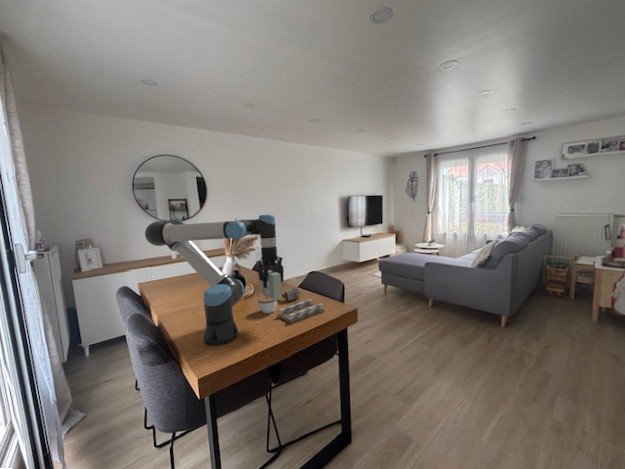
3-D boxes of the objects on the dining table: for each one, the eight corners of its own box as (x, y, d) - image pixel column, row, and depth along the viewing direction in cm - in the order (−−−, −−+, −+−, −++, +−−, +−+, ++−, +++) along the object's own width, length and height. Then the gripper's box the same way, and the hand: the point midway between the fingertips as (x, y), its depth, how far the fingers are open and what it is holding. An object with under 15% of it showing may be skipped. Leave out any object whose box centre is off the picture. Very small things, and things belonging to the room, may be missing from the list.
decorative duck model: (273, 291, 163) (286, 284, 176) (275, 303, 163) (288, 294, 176) (292, 291, 155) (305, 284, 168) (294, 304, 156) (307, 295, 169)
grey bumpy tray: (291, 324, 129) (291, 316, 129) (277, 316, 139) (277, 309, 139) (324, 311, 143) (324, 304, 142) (309, 305, 153) (309, 298, 152)
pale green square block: (274, 300, 123) (273, 275, 122) (262, 294, 132) (261, 271, 131) (281, 297, 126) (280, 273, 124) (269, 292, 135) (267, 269, 134)
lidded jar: (275, 306, 154) (273, 291, 153) (279, 312, 144) (278, 296, 143) (257, 310, 150) (255, 294, 149) (260, 316, 140) (259, 300, 139)
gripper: (256, 249, 118) (259, 298, 121) (287, 244, 129) (290, 290, 131) (249, 247, 124) (252, 295, 126) (279, 243, 135) (282, 287, 137)
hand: (271, 292), depth 129 cm, fingers closed on pale green square block, 4 cm apart
